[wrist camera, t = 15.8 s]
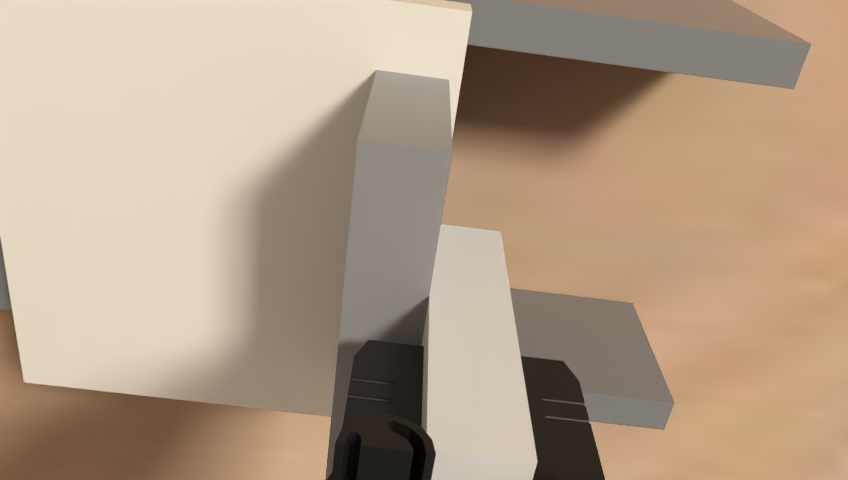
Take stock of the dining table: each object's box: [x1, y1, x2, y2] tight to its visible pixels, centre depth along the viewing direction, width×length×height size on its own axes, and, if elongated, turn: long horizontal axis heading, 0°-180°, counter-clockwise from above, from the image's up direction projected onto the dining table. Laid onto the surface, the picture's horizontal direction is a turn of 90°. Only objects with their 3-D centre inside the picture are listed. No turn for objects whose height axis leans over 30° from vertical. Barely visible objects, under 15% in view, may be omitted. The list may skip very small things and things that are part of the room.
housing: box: [0, 0, 811, 430], centre depth 20 cm, size 28×12×5 cm, turn 82°
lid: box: [0, 0, 472, 480], centre depth 15 cm, size 10×11×5 cm
